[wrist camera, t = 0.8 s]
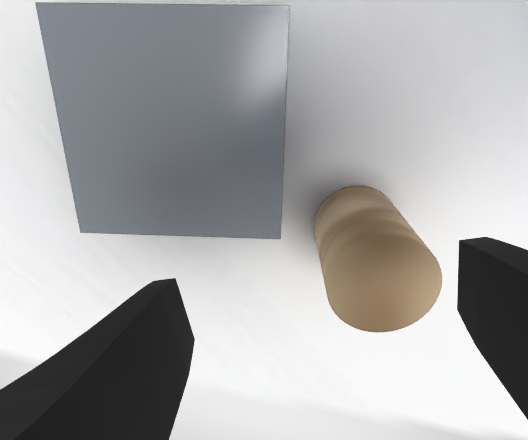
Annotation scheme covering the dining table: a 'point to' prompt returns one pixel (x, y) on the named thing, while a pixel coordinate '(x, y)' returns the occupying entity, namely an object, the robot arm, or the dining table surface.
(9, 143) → the dining table surface
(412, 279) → the oak cylinder
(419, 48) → the dining table surface
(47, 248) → the dining table surface
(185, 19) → the plate
